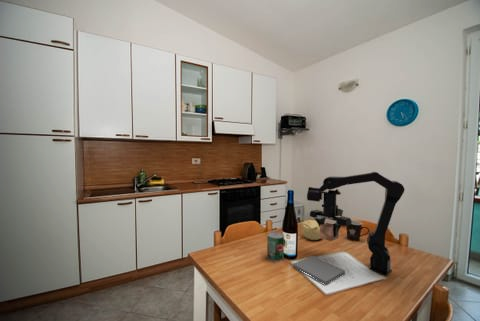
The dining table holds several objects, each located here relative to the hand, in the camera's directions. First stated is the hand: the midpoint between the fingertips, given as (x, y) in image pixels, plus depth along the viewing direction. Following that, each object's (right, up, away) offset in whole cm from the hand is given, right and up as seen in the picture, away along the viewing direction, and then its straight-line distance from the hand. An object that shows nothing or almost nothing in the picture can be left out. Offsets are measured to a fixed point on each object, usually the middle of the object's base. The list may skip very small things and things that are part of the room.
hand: (329, 234), depth 102 cm
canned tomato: (-26, -11, +1) cm, 28 cm away
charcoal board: (-9, -11, -11) cm, 18 cm away
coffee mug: (+26, -11, +23) cm, 36 cm away
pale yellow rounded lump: (+1, -11, +25) cm, 27 cm away
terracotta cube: (0, -1, 0) cm, 1 cm away
